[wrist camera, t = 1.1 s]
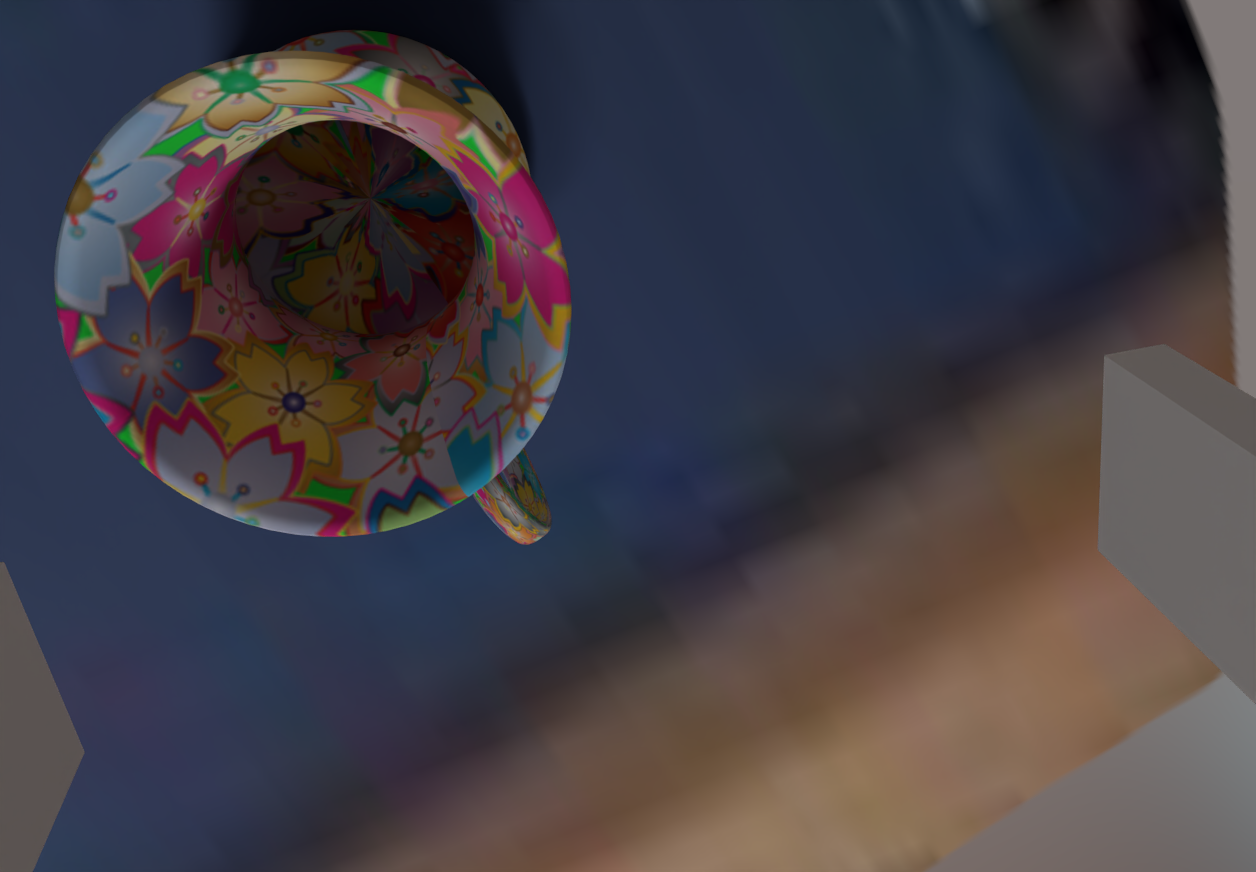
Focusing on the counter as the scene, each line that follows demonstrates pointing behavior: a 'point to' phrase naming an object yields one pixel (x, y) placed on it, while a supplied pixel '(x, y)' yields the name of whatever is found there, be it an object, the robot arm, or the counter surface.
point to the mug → (320, 290)
